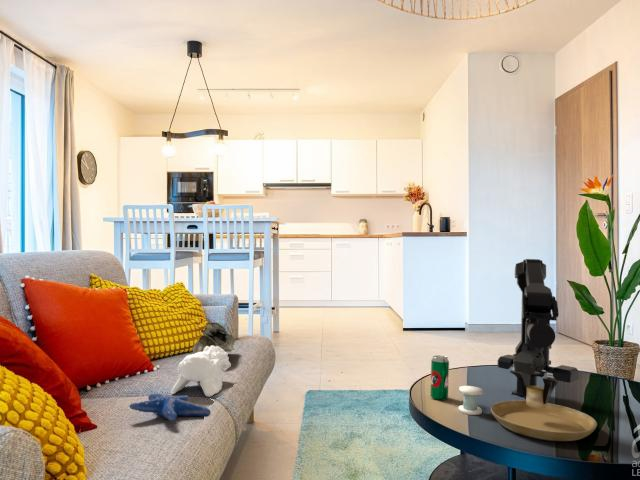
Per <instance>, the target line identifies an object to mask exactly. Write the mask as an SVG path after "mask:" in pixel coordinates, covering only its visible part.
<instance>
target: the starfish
mask: <svg viewBox="0 0 640 480" xmlns="http://www.w3.org/2000/svg"><path fill="white" fill-rule="evenodd" d="M147 398H148V400H145V401H140V402H134V403H130V404H129V406H128V407H129V409H131V410H135V411H138V412H142V413H153V414H157V415H159V416H162V417H164V418H165V419H167V420H169V421H170V422H173V421H175V420H176V419H177V417H178V416H180V417H181V416H185V417H194V416H195V417H202V418H204V417H205V418H207V417H210V416H211V410H210V409H209V408H208V407H206V406H204V405H200V404H196V403H193V402H190V401H189V400H190V397H189V396H188V395H174V394H172V395H171V394H170V395H167V394H166V395H165V394H164V393H163V394H162V393H151V394H150V395H148V397H147Z"/></svg>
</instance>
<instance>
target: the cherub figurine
mask: <svg viewBox="0 0 640 480" xmlns="http://www.w3.org/2000/svg"><path fill="white" fill-rule="evenodd" d="M203 350H204V351H203V352H198V353H195V354H193V353H192V354H187V355H186V356H185V357H184V359H183V360H181V361H180V362H178V366H177V368H176V369H177V374H179V379H177V381H176V382H175V384H174V386H173V387H172V388H171V390H170V394H172V395H174V394H175V395H176V393H177V392H180V391H181V390H183V389H184V388H186V386H187V385H188V384H189V383H190V382H195V383H196V382H199V385H200V387H201V389H202V391H203V394H204V395H205V396H206V397H207V398H210V397H213V395H216V394H218V393H219V392H220V391H221V390H222V389H223V388H222V387H223V377H222V375H223V373H225V372H226V371H227V370H228V369H229V368H231V366H232V364H231V362H230V361H229V359H230V357H229V356H228V355H229V353H228V351H227V352H225V351H224V350H223V349H222V348H220V347H219V346H216V347H215V346H210V347H208V346H206V347H205V348H204V349H203Z"/></svg>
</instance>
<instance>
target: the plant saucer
mask: <svg viewBox="0 0 640 480" xmlns="http://www.w3.org/2000/svg"><path fill="white" fill-rule="evenodd" d="M490 411H491V413H492V416H493V417H494V418H495V419H496V421H497V422H498V423H499V424H501V425H502V426H503V427H504V428H506V429H508V430H509V431H511V432H513V433H516V434H519V435H521V436H525V437H528V438H532V439H537V440H543V441H551V442H573V441H579V440H581V439H584V438H586V437H589V436H590V435H591V434H592V433H593V432H594V431H595V430H596V429H597V426H598V423H597V420H595V419H594V417H592V416H590V415H589V414H587V413H585V412H582V411H580V410H577V409H574V408H571V407H568V406H564V405H559V404H554V403H550V402H547V404H545V408H533V407H530V406H527V405H526V400H520V399H519V400H516V399H515V400H514V399H513V400H504V401H499V402H496V403H494V404H492V405H491V407H490Z"/></svg>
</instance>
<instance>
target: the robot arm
mask: <svg viewBox="0 0 640 480" xmlns="http://www.w3.org/2000/svg"><path fill="white" fill-rule="evenodd" d="M514 278H515V279H516V285H517V286H518V288H519V290H520V291H521V328H520V329H521V330H520V331H521V332H520V341H519V342H518V344H517V345H516V347H515V348H514V349H515V350H514V352H515V353H513V354H505V355H502V356H499V357H498V359H497V362H496V363H497V368H499V369H504V370H509V369H510V368H511V370H509V371H510V372H509V373H510V374H512V375H514V376H515V377H516V389H515V390H513V391H511V394H512V395H515V396H521V397H524V399H525V400H526V391H527V386H538V377H539V378H542V382H543V388H544V394H543V404H547V403H549V399H550V398H551V396H552V393H553V391H554V389H555V388H556V386H557V385H558V383H559V382H564V383H569V384H570V383H573V382H575V381H578V380H579V379H580V372H579V369H578V368H577V367H574V366H569V365H565V364H564V365H563V364H561V365H558V366H550V365H552V360H550V350H551V349H552V345H553V343H554V342H555V340H556V332H555V329H554V328H553V327H552V326H551V323H550V322H551V321H557V319H558V317H559V306H558V301H557V299H556V297H555V296H553V292H552V290H551V289H552V288H550V287H548V286H547V285H545V281H544V280H545V279H547V265H546V263H543V260H542V259H538V258H537V259H536V258H535V259H533V258H531V259H530V258H526V259H523V260H522V261H520V262H517V263H515V267H514ZM545 374H546V377H545Z"/></svg>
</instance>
